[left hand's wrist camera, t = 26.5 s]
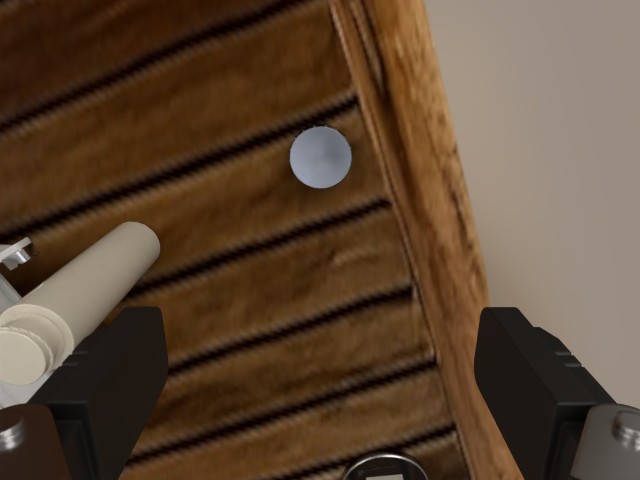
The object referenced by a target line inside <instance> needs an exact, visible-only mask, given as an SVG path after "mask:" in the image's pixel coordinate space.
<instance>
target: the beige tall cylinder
mask: <svg viewBox="0 0 640 480" xmlns="http://www.w3.org/2000/svg"><path fill="white" fill-rule="evenodd" d="M159 254H160V243H159V240H158V238H157V236H156V234H155V233H154V232H153V231H152V230H151V229H150V228H149V227H147V226H146V225H144V224H141V223H137V222H125V223H122V224H120V225H118V226H117V227H116V228H114V229H113V230H112V231H110V232H109V233H108V234H106V235H105V236H104V237H102V238H101V239H100V240H98V241H97V242H96V243H94V244H93V245H92V246H90V247H89V248H88V249H86V250H85V251H84V252H82V253H81V254H80V255H78V256H77V257H76V258H74V259H73V260H72V261H70V262H69V263H68V264H66V265H65V266H64V267H62V268H61V269H60V270H58V271H57V272H56V273H54V274H53V275H52V276H50V277H49V278H48V279H46V280H45V281H44V282H42V283H41V284H40V285H38V286H37V287H36V288H34V289H33V290H32V291H30V292H29V293H28V294H26V295H25V296H24V297H22V298H21V299H20V300H18V301H17V302H16V303H14V304H13V305H12V306H10V307H9V308H8V309H6V310H5V311H4V312H3V313H2V314H1V315H0V381H2V382H5V383H8V384H11V385H28V384H31V383H34V382H36V381H37V380H39V379H40V378H41V377H42V376H43V375H44V374H45V373H48V372H49V371H50V370H53V369H57V368H58V367H59V366H62V362H63V361H64V360H65V359H66V358H67V357H68V356H69V354H72V351H73V350H74V349H75V348H76V347H77V345H78V344H79V343H80V342H81V341H82V340H83V339H84V338H85V337H87V336H88V335H90V334H92V333H93V332H94V331H95V330H96V329H97V328H98V326H99V325H100V324H101V323H102V322H103V321H104V320H105V318H106V317H107V316H108V315H109V314H110V313H111V312H112V310H113V309H114V308H115V307H116V306H117V305H118V304H119V302H120V301H121V300H122V299H123V298H124V297H125V296H126V294H127V293H128V292H129V291H130V290H131V289H132V288H133V287H134V285H135V284H136V283H137V282H138V281H139V280H140V279H141V277H142V276H143V275H144V274H145V273H146V272H147V271H148V269H149V268H150V267H151V266H152V265H153V264H154V263H155V261H156V260H157V259H158V257H159Z"/></svg>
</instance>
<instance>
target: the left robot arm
mask: <svg viewBox="0 0 640 480" xmlns="http://www.w3.org/2000/svg"><path fill="white" fill-rule="evenodd" d="M474 374H475V379H476V383H477V386H478V388H479V390H480V392H481V394H482V396H483V398H484V400H485V402H486V404H487V406H488V408H489V410H490V412H491V414H492V416H493V418H494V420H495V422H496V424H497V426H498V428H499V430H500V432H501V434H502V436H503V438H504V440H505V442H506V444H507V446H508V448H509V450H510V452H511V454H512V456H513V458H514V460H515V462H516V464H517V466H518V468H519V470H520V471H521V473H522V475H523V477H524V479H525V480H640V409H637V408H634V407H631V406H627V405H623V404H617V403H616V402H615V401H614V400H613V399H612V397H611V396H610V395H609V394H608V393H607V392H606V391H605V390H604V389H603V387H602V386H601V385H600V384H599V383H598V382H597V381H596V380H595V379H594V377H593V376H592V375H591V374H590V373H589V372H588V371H587V370H586V369H585V368H584V367H582V366H581V363H580V362H579V361H578V360H577V359H576V357H575V356H573V355H571V352H570V351H569V350H568V349H567V347H566V346H565V345H564V344H563V343H562V342H561V341H560V340H559V339H558V338H556V337H555V336H553V335H551V334H550V333H548V332H547V331H545V330H543V329H542V328H540V327H533V326H532V325H531V324H530V322H529V321H528V320H527V319H526V318H525V316H524V315H523V314H522V313H521V312H520V310H519V309H518V308H516V307H485V308H484V309H483V310H482V312H481V316H480V322H479V329H478V337H477V344H476V351H475V358H474ZM167 375H168V355H167V348H166V340H165V333H164V326H163V318H162V313H161V310H160V308H159V307H125V308H124V309H123V311H122V312H121V313H120V314H119V315H118V317H117V318H116V319H115V320H114V321H113V323H112V324H111V325H110V326H103V327H101V328H100V329H98V330H96V331H95V332H93V333H92V334H90V335H88V336H87V337H85V338H84V339H83V340H82V341H81V342H80V343H79V344H78V345H77V347H76V348H75V349H74V350H73V351H72V354H69V356H68V357H67V358H66V359H65V360H64V361H63V362H62V366H59V367H58V368H57V369H56V370H55V371H54V372H53V373H52V375H51V376H50V377H49V378H48V379H47V380H46V381H45V382H44V384H43V385H42V386H41V387H40V388H39V389H38V390H37V391H36V392H35V394H34V395H33V396H32V397H31V398H30V399H29V400H28V401H27V403H23V404H17V405H12V406H9V407H6V408H3V409H0V480H118V478H119V476H120V474H121V472H122V470H123V468H124V466H125V464H126V462H127V460H128V458H129V456H130V454H131V452H132V450H133V448H134V446H135V444H136V442H137V440H138V438H139V436H140V434H141V432H142V430H143V428H144V426H145V424H146V422H147V420H148V418H149V416H150V414H151V412H152V410H153V408H154V406H155V404H156V402H157V400H158V398H159V396H160V394H161V392H162V390H163V388H164V386H165V383H166V380H167ZM342 480H428V478H427V474H426V471H425V469H424V468H423V466H422V465H421V464H420V463H419V462H418V461H417V460H416V459H415V458H413V457H412V456H410V455H408V454H405V453H402V452H399V451H393V450H380V451H374V452H370V453H367V454H365V455H362V456H360V457H359V458H357V459H356V460H354V461H353V462H352V463H351V464H350V465H349V466H348V467H347V468H346V470H345V472H344V474H343V476H342Z"/></svg>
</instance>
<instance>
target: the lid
mask: <svg viewBox="0 0 640 480" xmlns="http://www.w3.org/2000/svg"><path fill="white" fill-rule="evenodd" d="M290 150H291V151H290V160H289V161H290V164H291V168H292V170H293V172H294V174H295V175H296V177H297V178H298V179H299V180H300V181H301V182H302V183H304V184H306V185H307V186H310V187H313V188H328V187H332V186H334V185H336V184H338V183H339V182H340V181H342V179H343V178H344V177H345V176H346V175H347V173H348V171H349V169H350V166H351V161H352V154H351V146H350V144H348V141H347V139H346V136H345V134H344V135H343V133H342V132H341V131H340V130H338V129H337V127H333V126H331V125H328V124H326V123H325V124H315V123H314V125H310V126H308V127H306V128H303V130H302V131H301V132H300V133H299V134H298V135H297V136H295V140H294V142H293V145H292V146H291V148H290Z"/></svg>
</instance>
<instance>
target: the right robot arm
mask: <svg viewBox="0 0 640 480" xmlns="http://www.w3.org/2000/svg"><path fill="white" fill-rule="evenodd" d="M39 253H40V252H39V250H38V249H37V248H36V247H35V245H34V244H33V243H31V241H30V240H29V238H28V237H26V238H25V239H23V240H21V241H19V242H18V243H16V244H14V245H12V246H11V245H0V262H3V263H4V264H5V265H6V266H7V267H8V268H9V270H10V271H11V270H12V269H14V268H16V267H18V266H19V265H21V264H23V263H24V262H26V261H28V260H29V259H31V258H32V257H34V256H36V255H37V254H39ZM21 298H22V297H21V296H20V295H19V294H18V292H17V291H16V290H15V289H14V288H13V287H12V286H11V284H10V283H9V282H8V281H7V280H6V279H5V278H4V276H3V275H2V274H1V273H0V315H1V314H2V313H3V312H4V311H5V310H6V309H8V308H9V307H10V306H12V305H13V304H14V303H16V302H17V301H18V300H20V299H21ZM55 370H56V369H53V370H50V371H49V372H48V373H45V374H44V375H43V376H42V377H41V378H40V379H39V380H37V381H36V382H34V383H31V384H28V385H11V384H8V383H5V382H2V381H0V409H3V408H6V407H9V406H12V405H17V404H23V403H27V401H28V400H29V399H30V398H31V397H32V396H33V395H34V394H35V392H36V391H37V390H38V389H39V388H40V387H41V386H42V385H43V384H44V382H45V381H46V380H47V379H48V378H49V377H50V376H51V375H52V373H53V372H54V371H55Z"/></svg>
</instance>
